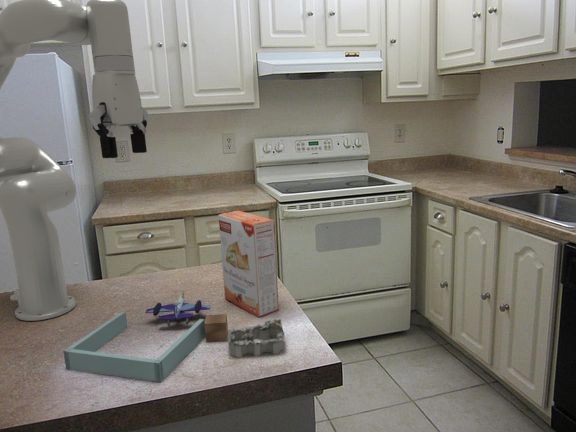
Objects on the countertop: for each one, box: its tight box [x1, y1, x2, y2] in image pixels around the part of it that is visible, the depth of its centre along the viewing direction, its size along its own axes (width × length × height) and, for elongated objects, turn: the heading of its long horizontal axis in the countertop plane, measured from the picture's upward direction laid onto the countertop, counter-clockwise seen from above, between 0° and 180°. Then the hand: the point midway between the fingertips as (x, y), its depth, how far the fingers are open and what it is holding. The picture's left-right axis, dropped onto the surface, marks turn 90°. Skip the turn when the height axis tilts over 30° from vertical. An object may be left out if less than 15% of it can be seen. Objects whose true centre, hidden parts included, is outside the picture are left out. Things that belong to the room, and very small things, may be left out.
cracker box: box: [218, 210, 280, 318], centre depth 108 cm, size 14×6×21 cm, turn 39°
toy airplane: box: [145, 291, 211, 326], centre depth 105 cm, size 13×14×4 cm
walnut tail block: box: [204, 313, 229, 344], centre depth 95 cm, size 4×4×4 cm
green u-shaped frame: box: [63, 310, 206, 383], centre depth 90 cm, size 19×17×4 cm
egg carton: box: [227, 318, 286, 358], centre depth 90 cm, size 11×8×4 cm
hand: (125, 155), depth 98 cm, fingers open, 9 cm apart
